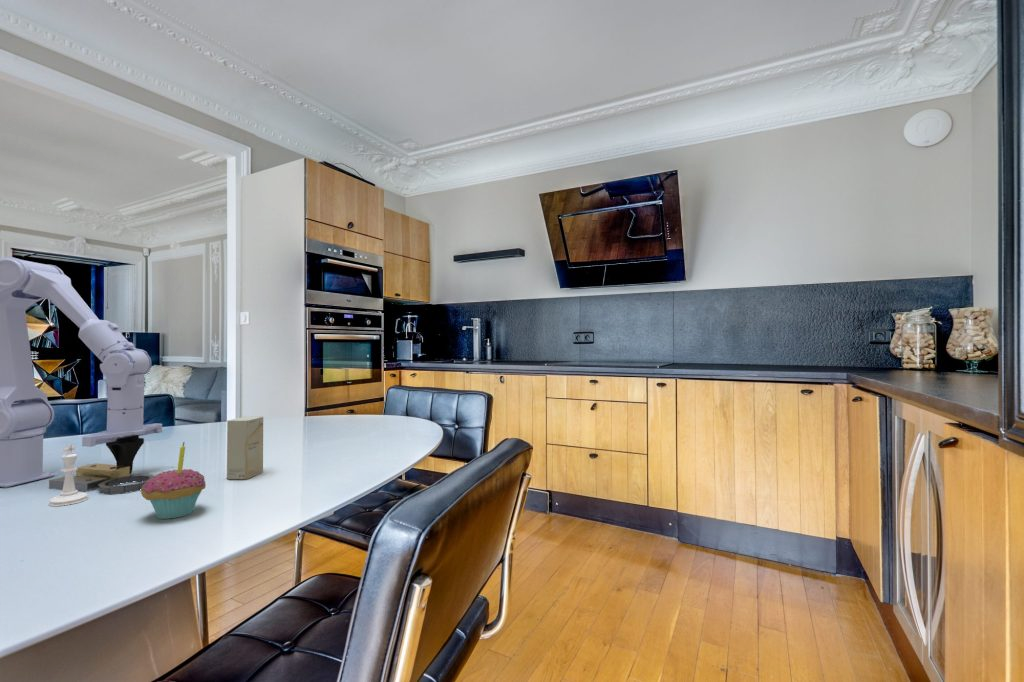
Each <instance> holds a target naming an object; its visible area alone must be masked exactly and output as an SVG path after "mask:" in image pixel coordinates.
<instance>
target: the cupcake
mask: <svg viewBox="0 0 1024 682" xmlns="http://www.w3.org/2000/svg"><path fill="white" fill-rule="evenodd" d="M185 442H186V441H183V442H182V444H181V446H180V447H179V456H178V462H177V469H172V470H168V471H162V472H159V473H158V474H155V475H153V476H154V477H151V479H150V480H148V481H147V482H146V483H145V484H144V485H143V486H142V488H141V490H140V493H141V496H142V498H144V499H145V500H147V501H150V503H151V505H152V508H153V509H154V512H155V515H156V517H157V518H158V519H162V520H169V519H170V518H172V519H177V517H178V518H181V516H182V517H185V516H187V514H188V515H190V514H192V512H193V511H194V509H195V505H196V503H197V501H198V498H199V496H200V495H201V494H202V491H203V490H204V489H205V488H206V485H207V484H206V481H205V475H203V474H202V473H200V472H199V471H197V470H196V471H195V470H194V469H189V468H187V469H183V467H184V459H185V451H186V446H185Z"/></svg>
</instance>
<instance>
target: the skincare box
mask: <svg viewBox="0 0 1024 682" xmlns="http://www.w3.org/2000/svg"><path fill="white" fill-rule="evenodd" d="M226 423H227V425H226V426H227V428H226V429H227V431H226V433H227V434H226V436H227V437H226V438H227V439H226V441H227V442H226V443H227V444H226V447H227V448H226V479H227V480H248V479H250V478H252V477H255V476H257V475H259V474H261V473H263V472H264V416H262V415H261V416H246V415H245V416H241V417H237V418H234V419H229V420H227V421H226Z"/></svg>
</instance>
